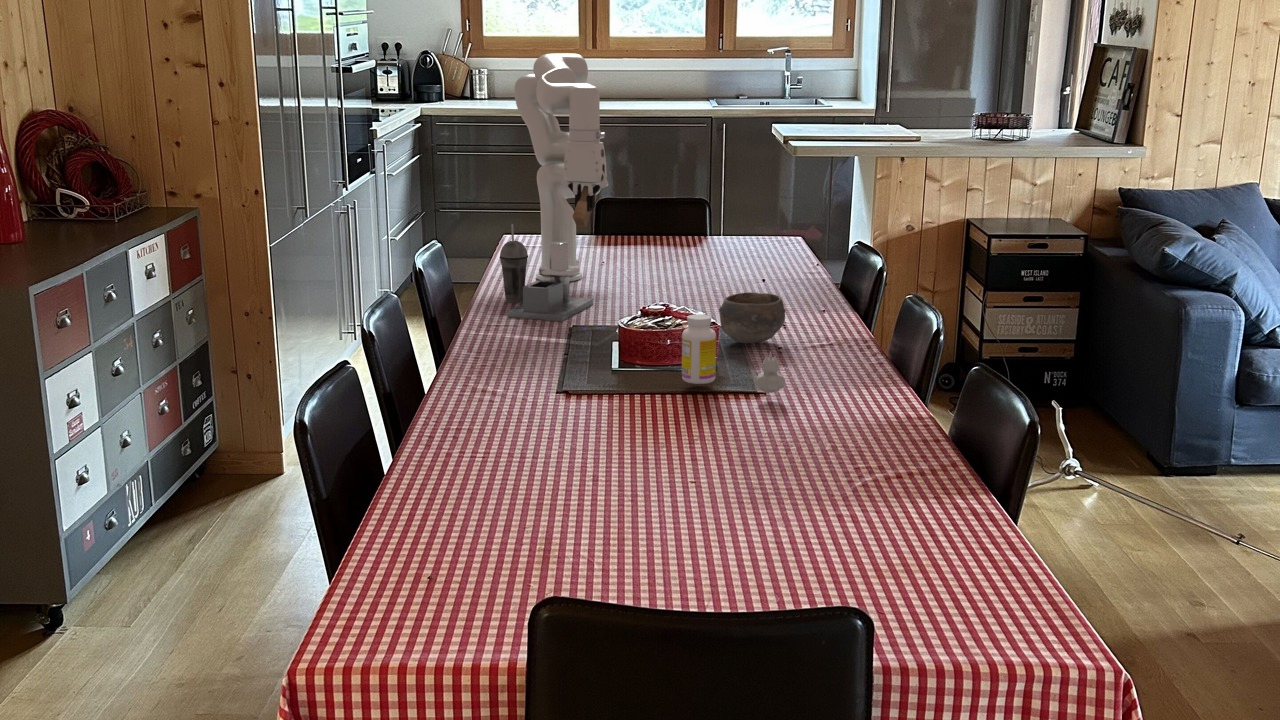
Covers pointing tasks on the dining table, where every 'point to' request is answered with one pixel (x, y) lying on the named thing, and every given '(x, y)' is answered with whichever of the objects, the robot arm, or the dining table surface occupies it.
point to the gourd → (770, 376)
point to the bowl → (752, 316)
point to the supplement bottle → (698, 350)
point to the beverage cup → (513, 269)
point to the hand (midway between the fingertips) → (584, 209)
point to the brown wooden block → (582, 209)
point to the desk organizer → (552, 290)
